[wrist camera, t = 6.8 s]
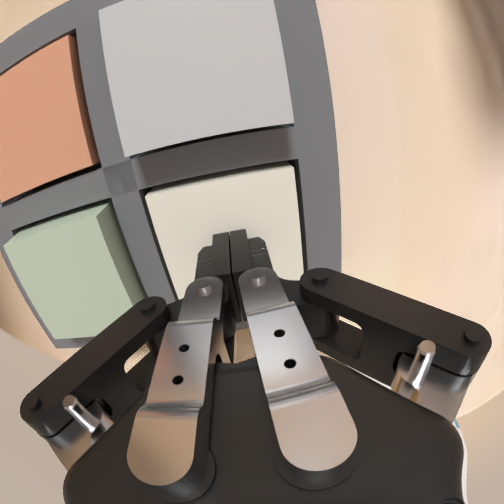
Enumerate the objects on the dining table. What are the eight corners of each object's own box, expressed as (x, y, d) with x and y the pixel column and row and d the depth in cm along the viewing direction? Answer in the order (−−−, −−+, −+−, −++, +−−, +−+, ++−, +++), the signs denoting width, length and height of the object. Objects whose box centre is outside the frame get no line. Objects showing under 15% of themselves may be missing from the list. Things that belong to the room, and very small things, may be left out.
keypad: (-10, 77, 10) (-43, 80, 7) (286, -24, 10) (302, -50, 7) (71, 317, 19) (56, 348, 16) (323, 277, 19) (340, 309, 16)
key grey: (117, 23, 9) (98, 10, 7) (259, -8, 9) (267, -28, 7) (141, 147, 12) (124, 157, 10) (281, 119, 12) (294, 123, 10)
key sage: (25, 226, 13) (3, 245, 11) (114, 197, 13) (96, 216, 11) (68, 314, 16) (54, 339, 14) (153, 302, 16) (145, 331, 14)
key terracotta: (2, 91, 10) (-23, 94, 8) (89, 42, 10) (68, 34, 8) (24, 188, 13) (1, 202, 11) (111, 154, 13) (92, 165, 11)
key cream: (156, 182, 14) (144, 196, 12) (282, 157, 14) (293, 167, 12) (187, 285, 17) (183, 312, 15) (294, 266, 17) (304, 290, 15)
